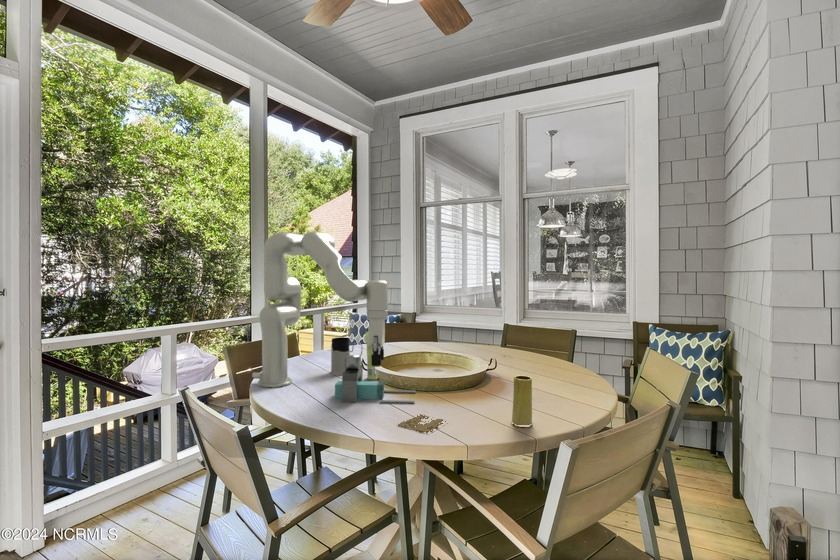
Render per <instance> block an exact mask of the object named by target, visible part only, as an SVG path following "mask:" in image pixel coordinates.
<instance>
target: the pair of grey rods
mask: <svg viewBox="0 0 840 560" xmlns="http://www.w3.org/2000/svg"><path fill="white" fill-rule="evenodd" d="M416 392H417V391H416V390H407V389H406V390H399V389H397V390H396V389H394V390H393V389H384V394H416ZM393 403H396V404H397V403H400V405H402V404H404V403H405V404H406V403H415V404H416V402H415V400H398V399H397V400H395V399H394V400H389V399H387V400H386V399H385V400H384V399H379V404H393ZM396 404H395V405H396ZM406 405H407V404H406Z"/></svg>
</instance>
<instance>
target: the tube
mask: <svg viewBox="0 0 840 560" xmlns="http://www.w3.org/2000/svg"><path fill="white" fill-rule="evenodd" d="M364 335H365V340H366V360H367V361H366V362H367V363H366V367H367V371H366V372H367V379H368V380H372V381H373V380H375V381H376V380H378V379H377V377H376V374H375V371H374V368H375V367H380V368H381V366H372V358H371V354H372V347H371V348H369V347H368V344H369V331H365V334H364Z"/></svg>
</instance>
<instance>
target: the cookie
mask: <svg viewBox="0 0 840 560" xmlns="http://www.w3.org/2000/svg"><path fill="white" fill-rule="evenodd" d="M416 415H417V414H416ZM419 415H420V416H418V415H417V417H414V418H412V419H409V418H408V419H409V420H407V419H406V420H407V421H406V422H405V420H403V421H401V422H399V423H400V424H399V423H397V424H398V426H401V427H400V428H402V427H404V428H403V429H406V428H410V429H413V430H416V431H415V432H417V431H420V432H419V433H421V432H426V433H428V432H429V431H430V432H432V431H433V429H437V428H438V426H439V425H441V424H443V423H441V422H442V421H443V420H444V419H442V418H438V419H436V420H432V419H431V420H432V421H431V422H430V423H426V424H424V425H423V424H420V423H419V422H422V421H421V419H424V418H425V417H427V418H425V419H428V418H429V417H430V416H429V415H425V414H419ZM423 415H424V416H423ZM446 421H447V420H446ZM446 421H445V422H446ZM425 422H426V421H425ZM428 422H429V421H428ZM418 423H419V424H418ZM439 423H440V424H439ZM398 426H397V427H398ZM415 426H416V427H415ZM410 429H409V430H410ZM413 430H412V431H413ZM431 430H432V431H431ZM437 430H438V429H437ZM432 433H433V432H432Z"/></svg>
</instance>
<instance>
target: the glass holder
mask: <svg viewBox="0 0 840 560" xmlns="http://www.w3.org/2000/svg"><path fill="white" fill-rule="evenodd" d="M356 344H359V345H360V347H361V349H360V350H361V351H360V354H359V355H360V356H361V357H362V354H363V345H362V344H361V342H354V343H353V344H352V350H350V338H349V337H344V336H342V337H341V336H339V337H332V338H331V346H330V348H331V349H330V350H331V352H330V353H331V361H330V362H331V363H330V364H331V365H330V367H331V369H330V375H331V374H332V376H341V377H342V373H343V372H344V371H345V370H346V369H345V356H346V355H351V354H350V353H352V352H354V347H355V345H356Z"/></svg>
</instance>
